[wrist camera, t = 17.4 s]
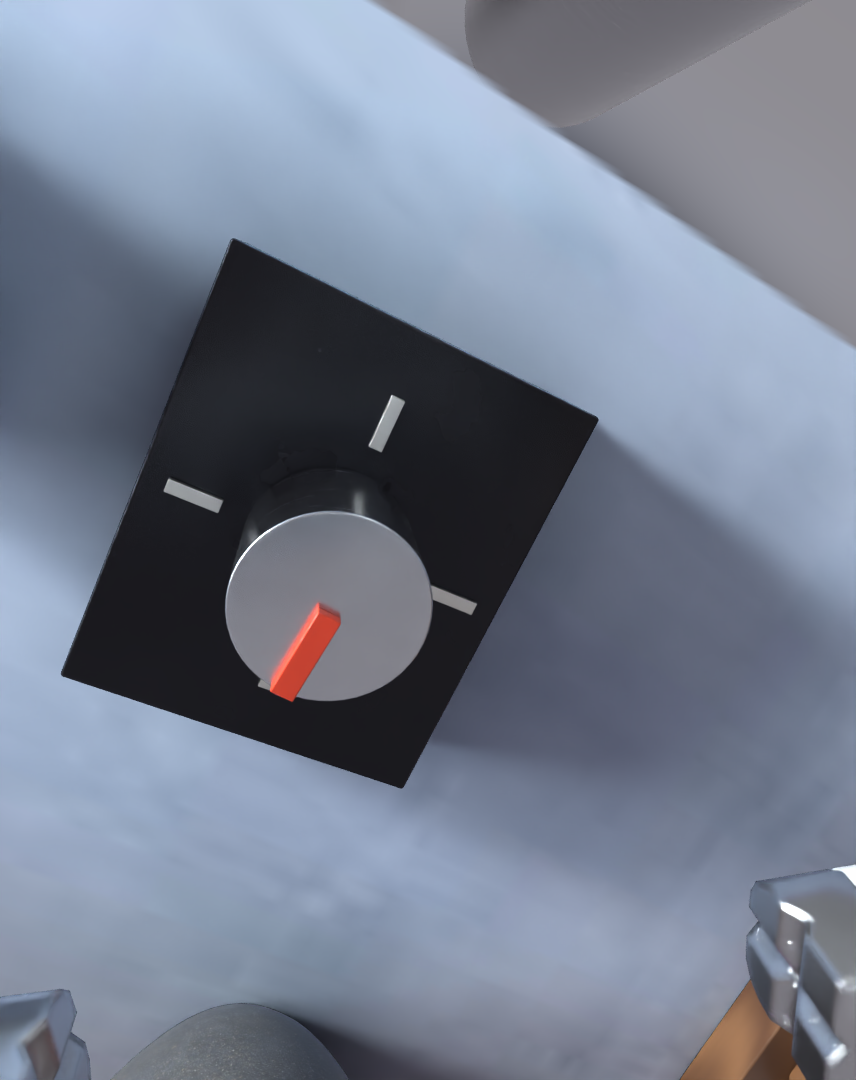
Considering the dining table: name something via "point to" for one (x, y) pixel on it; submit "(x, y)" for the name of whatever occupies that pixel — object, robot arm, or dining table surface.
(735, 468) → the dining table surface
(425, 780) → the dining table surface
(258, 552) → the silver dial knob
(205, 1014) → the bowl
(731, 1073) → the brown button base
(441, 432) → the black dial plate
